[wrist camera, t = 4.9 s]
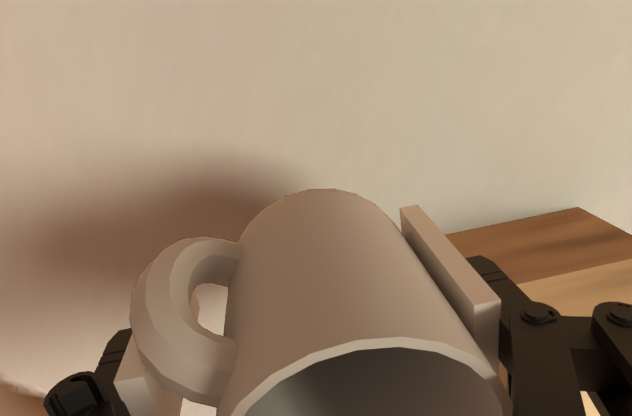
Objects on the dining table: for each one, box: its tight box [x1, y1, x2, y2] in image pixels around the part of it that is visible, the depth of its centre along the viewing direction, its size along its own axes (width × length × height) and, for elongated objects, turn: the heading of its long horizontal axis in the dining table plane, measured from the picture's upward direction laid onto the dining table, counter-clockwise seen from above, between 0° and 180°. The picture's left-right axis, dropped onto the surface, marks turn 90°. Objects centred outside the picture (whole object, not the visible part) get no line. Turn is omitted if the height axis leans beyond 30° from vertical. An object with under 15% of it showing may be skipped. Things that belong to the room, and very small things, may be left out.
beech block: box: [498, 259, 632, 416], centre depth 19 cm, size 9×9×6 cm
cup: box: [129, 189, 513, 416], centre depth 14 cm, size 7×10×9 cm
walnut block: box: [445, 207, 632, 285], centre depth 25 cm, size 9×9×6 cm
